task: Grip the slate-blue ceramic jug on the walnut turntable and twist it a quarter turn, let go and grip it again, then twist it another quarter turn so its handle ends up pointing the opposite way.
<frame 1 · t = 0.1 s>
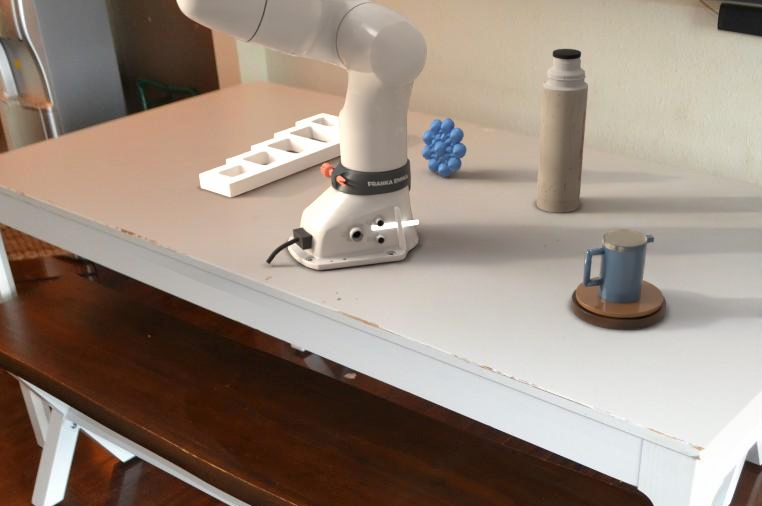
thermos bottle: (557, 206, 185), on the table
holder: (281, 158, 208), on the table
turntable base: (617, 308, 149), on the table
jug: (622, 268, 145), point 7 cm above the table, hinge at 0.0°
grapes: (447, 176, 198), on the table
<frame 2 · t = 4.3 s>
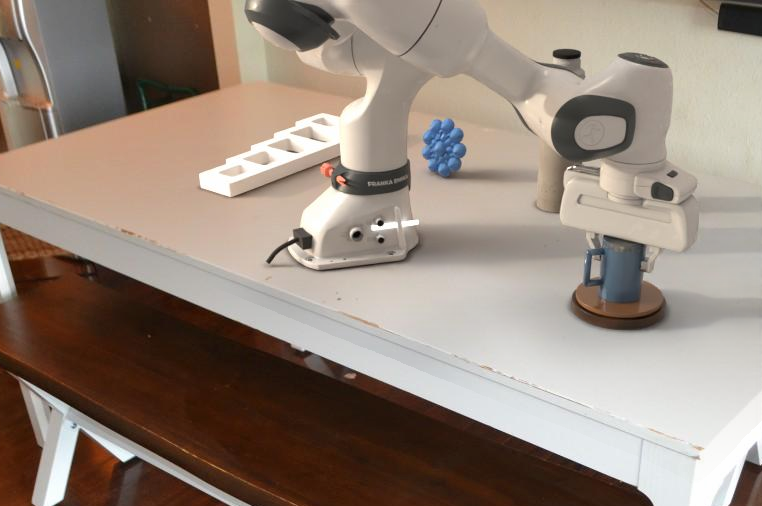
hand: (622, 265, 145), 7 cm above the table, tool pointing down, fingers closed on jug, 6 cm apart
jug: (622, 268, 145), point 7 cm above the table, hinge at 0.1°, touching gripper
everything else where it was.
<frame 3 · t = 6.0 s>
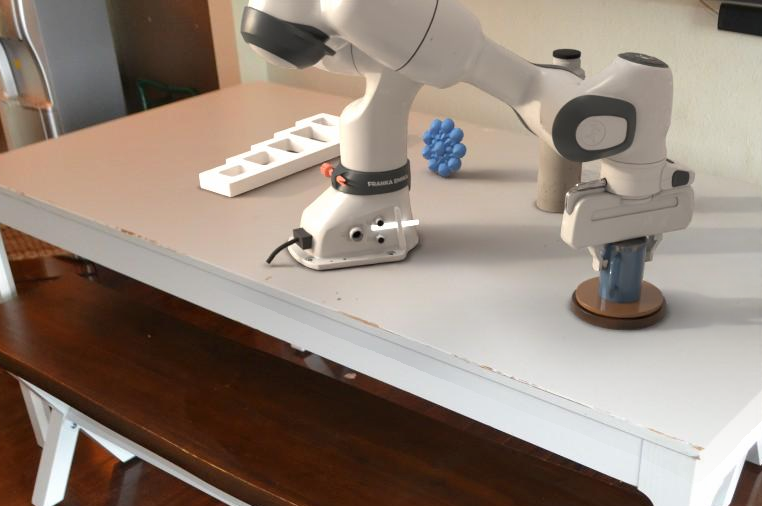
hand: (622, 264, 145), 7 cm above the table, tool pointing down, fingers closed on jug, 6 cm apart
jug: (622, 268, 145), point 7 cm above the table, hinge at 54.3°, touching gripper
everything else where it was.
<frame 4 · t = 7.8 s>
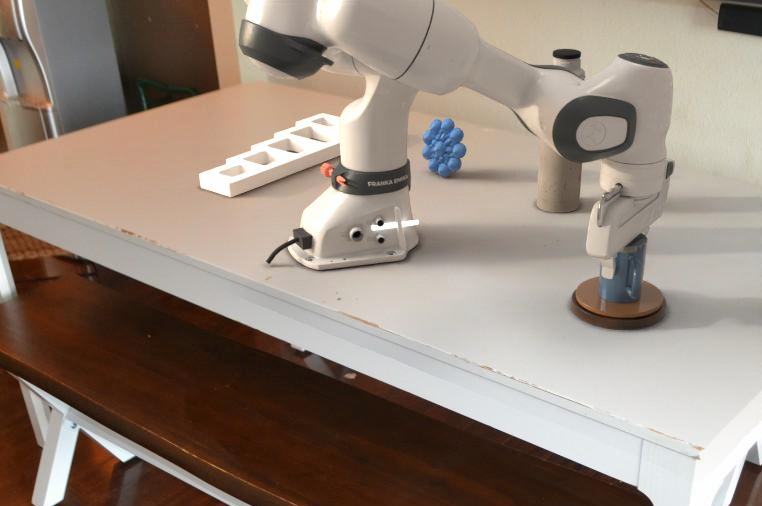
hand: (622, 265, 145), 7 cm above the table, tool pointing down, fingers open, 8 cm apart
jug: (622, 268, 145), point 7 cm above the table, hinge at 90.0°
everything else where it was.
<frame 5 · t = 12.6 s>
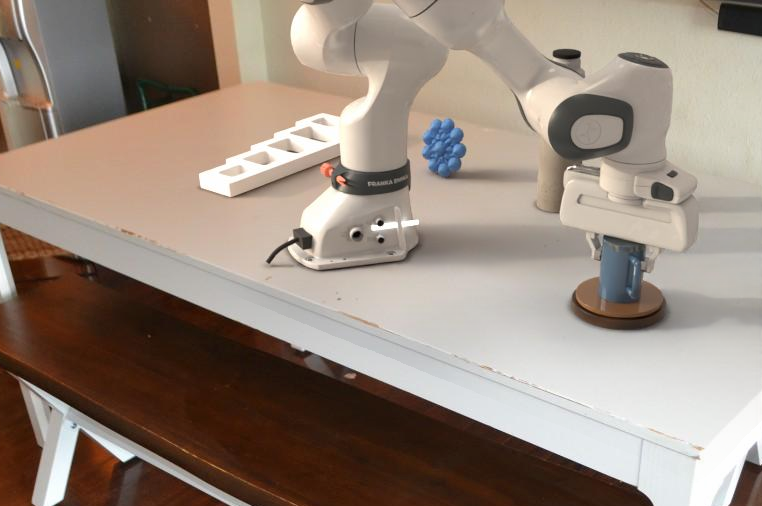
hand: (622, 265, 145), 7 cm above the table, tool pointing down, fingers closed on jug, 6 cm apart
jug: (622, 268, 145), point 7 cm above the table, hinge at 90.2°, touching gripper
everything else where it was.
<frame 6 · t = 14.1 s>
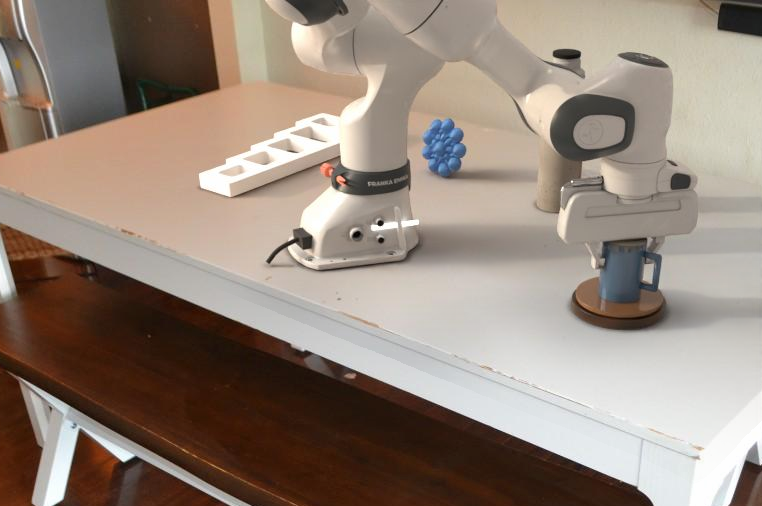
hand: (622, 265, 145), 7 cm above the table, tool pointing down, fingers closed on jug, 6 cm apart
jug: (622, 268, 145), point 7 cm above the table, hinge at 134.5°, touching gripper
everything else where it was.
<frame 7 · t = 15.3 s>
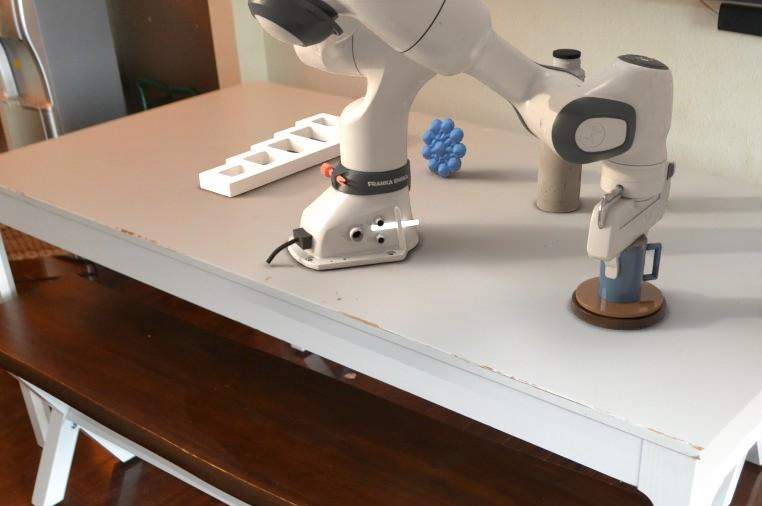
hand: (623, 266, 145), 7 cm above the table, tool pointing down, fingers closed on jug, 6 cm apart
jug: (622, 268, 145), point 7 cm above the table, hinge at 180.7°, touching gripper
everything else where it was.
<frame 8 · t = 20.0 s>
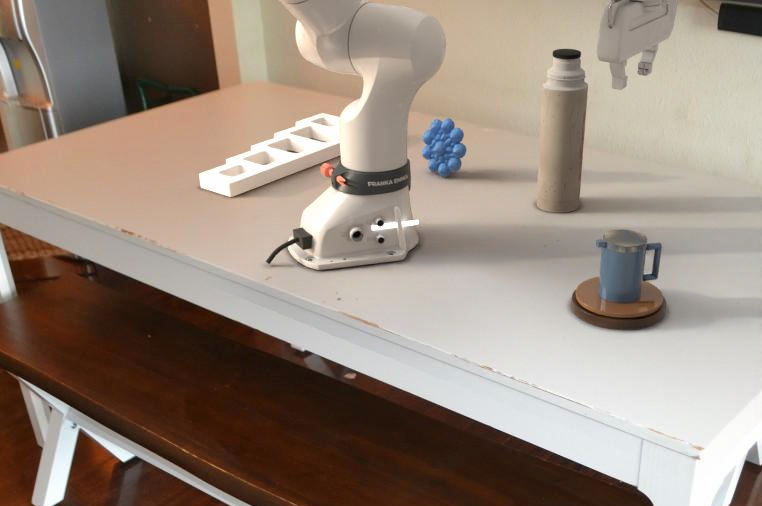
hand: (631, 81, 148), 29 cm above the table, tool pointing down, fingers open, 8 cm apart
jug: (622, 268, 145), point 7 cm above the table, hinge at 180.8°
everything else where it was.
at the end: jug at +181° (first picture: +0°); the gripper is holding nothing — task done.
